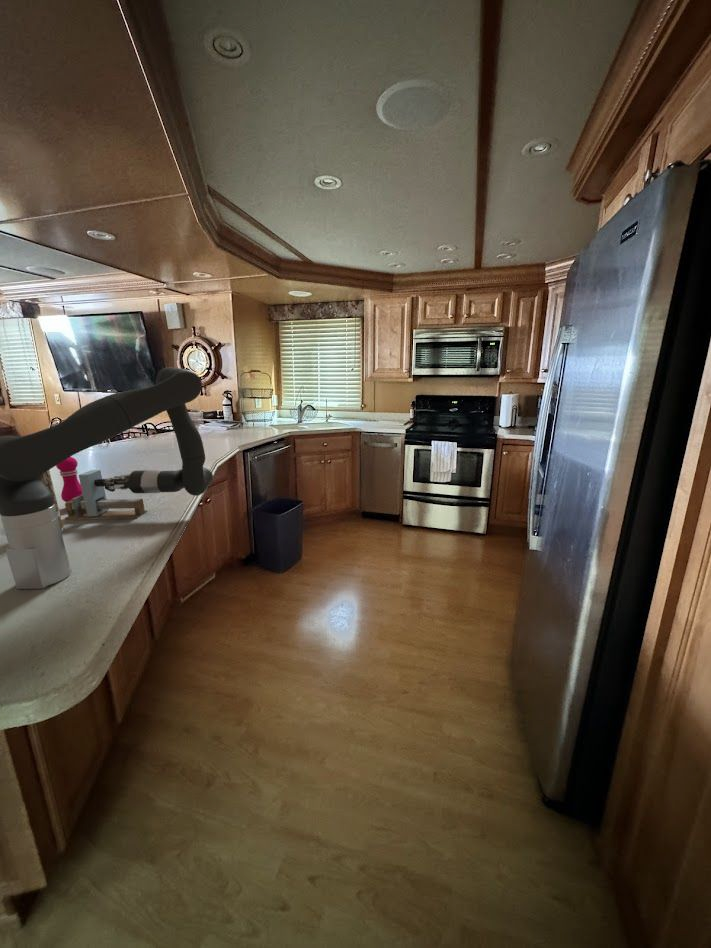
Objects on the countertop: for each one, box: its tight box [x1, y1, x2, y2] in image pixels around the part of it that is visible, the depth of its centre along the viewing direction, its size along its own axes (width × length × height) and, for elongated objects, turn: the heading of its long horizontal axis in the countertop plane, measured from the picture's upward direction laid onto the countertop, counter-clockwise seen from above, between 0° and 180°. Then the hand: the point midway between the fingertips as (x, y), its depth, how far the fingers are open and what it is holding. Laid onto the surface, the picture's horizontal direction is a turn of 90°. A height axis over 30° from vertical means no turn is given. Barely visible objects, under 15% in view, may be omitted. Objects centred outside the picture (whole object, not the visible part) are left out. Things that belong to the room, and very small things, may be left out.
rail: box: [64, 494, 148, 520], centre depth 125 cm, size 6×24×7 cm, turn 90°
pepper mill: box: [55, 456, 83, 510], centre depth 132 cm, size 7×7×20 cm
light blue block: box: [78, 469, 110, 516], centre depth 124 cm, size 6×3×14 cm, turn 179°
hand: (96, 482), depth 123 cm, fingers closed
